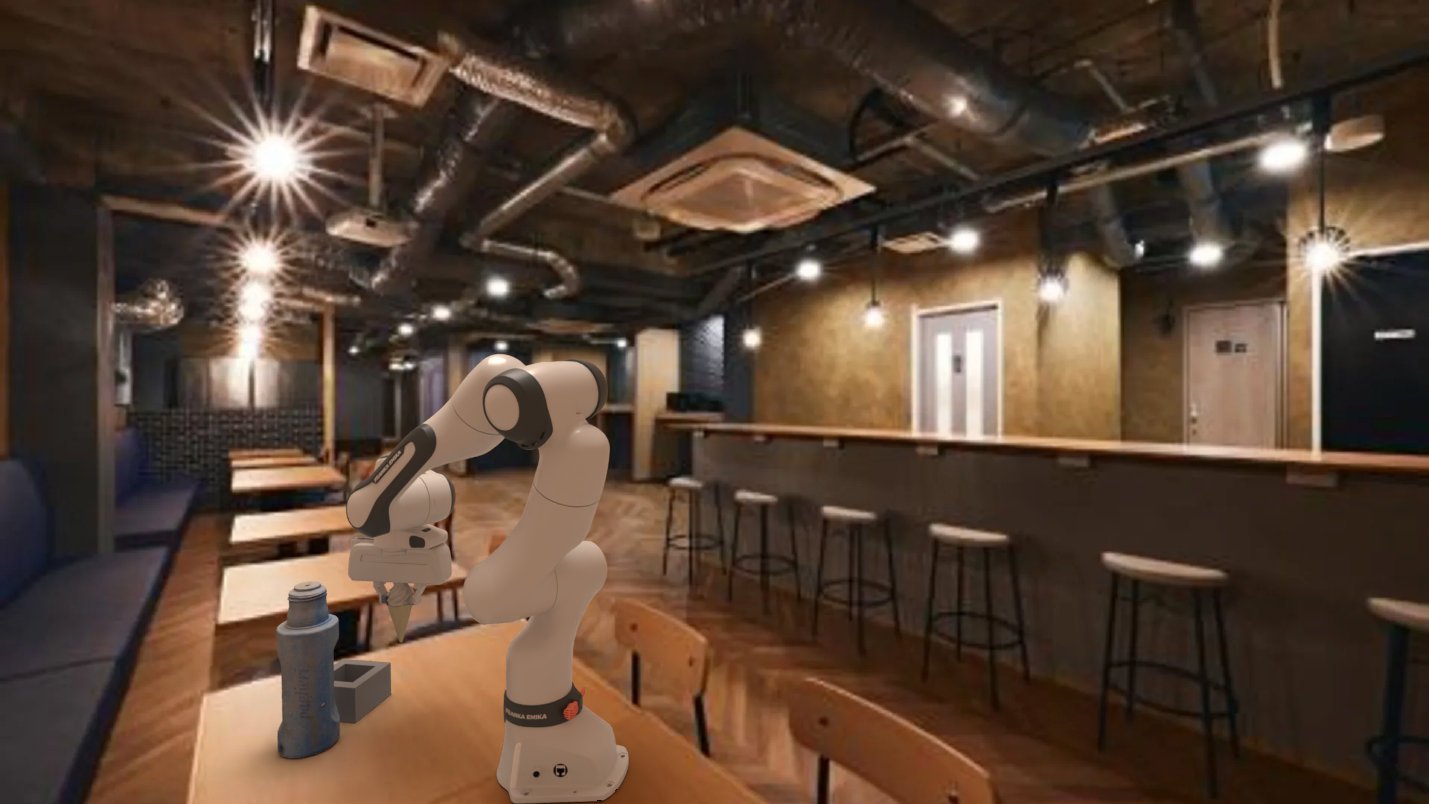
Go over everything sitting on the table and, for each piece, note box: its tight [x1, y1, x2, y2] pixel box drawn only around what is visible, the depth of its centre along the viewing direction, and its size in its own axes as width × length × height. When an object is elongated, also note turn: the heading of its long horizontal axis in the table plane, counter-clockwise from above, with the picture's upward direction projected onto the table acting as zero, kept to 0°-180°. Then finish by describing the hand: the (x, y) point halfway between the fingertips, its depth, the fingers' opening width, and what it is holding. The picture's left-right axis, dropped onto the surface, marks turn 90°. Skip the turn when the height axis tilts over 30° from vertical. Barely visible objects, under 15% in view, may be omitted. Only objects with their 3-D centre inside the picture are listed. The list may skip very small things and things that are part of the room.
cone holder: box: [334, 658, 392, 724], centre depth 131 cm, size 11×11×7 cm
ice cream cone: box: [385, 583, 415, 644], centre depth 127 cm, size 5×5×15 cm
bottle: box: [275, 580, 341, 759], centre depth 117 cm, size 10×10×30 cm
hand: (400, 603), depth 127 cm, fingers closed on ice cream cone, 5 cm apart
